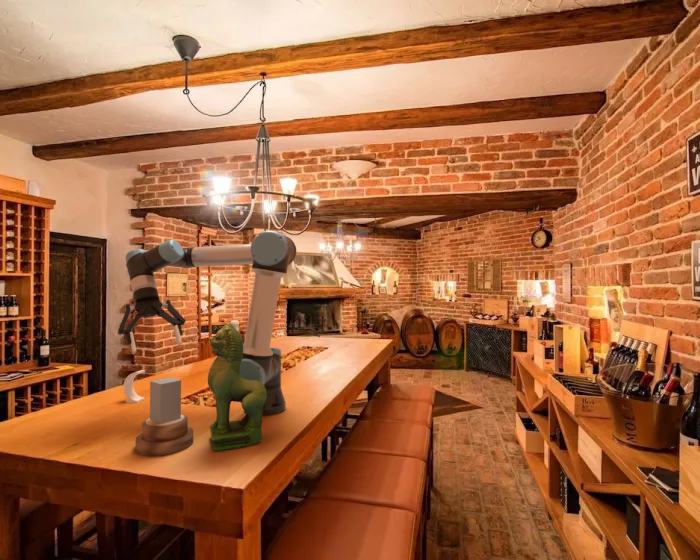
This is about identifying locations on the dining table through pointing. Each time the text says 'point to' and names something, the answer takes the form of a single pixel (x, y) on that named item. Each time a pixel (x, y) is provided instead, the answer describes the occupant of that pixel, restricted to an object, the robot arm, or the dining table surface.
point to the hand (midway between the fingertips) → (158, 348)
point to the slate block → (165, 400)
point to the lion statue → (234, 394)
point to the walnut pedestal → (164, 437)
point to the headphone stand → (130, 391)
